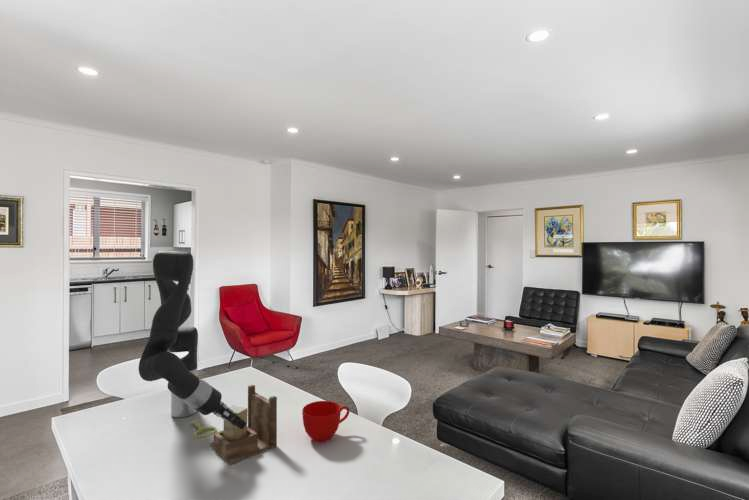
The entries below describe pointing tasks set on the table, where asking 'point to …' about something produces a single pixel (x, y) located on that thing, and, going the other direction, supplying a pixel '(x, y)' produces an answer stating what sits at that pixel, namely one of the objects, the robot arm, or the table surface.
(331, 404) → the ceramic cup
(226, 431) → the skincare box
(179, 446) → the table surface
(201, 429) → the key
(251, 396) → the headboard stand
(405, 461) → the table surface
